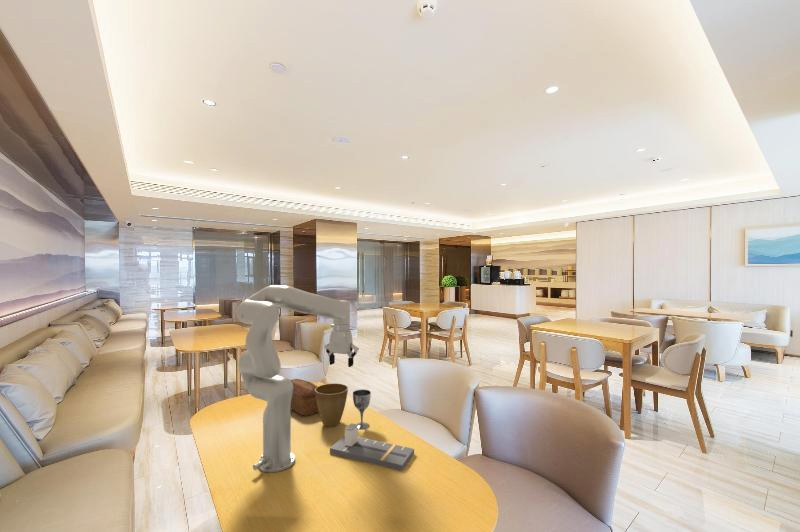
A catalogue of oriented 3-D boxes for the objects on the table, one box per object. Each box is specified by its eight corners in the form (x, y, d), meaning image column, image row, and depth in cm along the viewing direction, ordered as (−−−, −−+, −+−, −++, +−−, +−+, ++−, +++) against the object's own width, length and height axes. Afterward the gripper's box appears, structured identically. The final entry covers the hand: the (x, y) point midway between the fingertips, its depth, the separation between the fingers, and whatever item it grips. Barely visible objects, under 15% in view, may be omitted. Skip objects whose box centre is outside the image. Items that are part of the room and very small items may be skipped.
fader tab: (351, 446, 134) (351, 429, 134) (344, 445, 136) (344, 428, 136) (358, 440, 139) (357, 424, 139) (351, 439, 140) (351, 423, 140)
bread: (302, 419, 164) (302, 393, 164) (276, 403, 184) (276, 379, 184) (328, 411, 173) (328, 386, 173) (300, 396, 194) (300, 374, 194)
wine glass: (349, 427, 155) (349, 393, 155) (359, 420, 162) (359, 388, 162) (364, 431, 152) (364, 396, 152) (374, 424, 159) (374, 391, 159)
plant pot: (345, 431, 152) (344, 394, 152) (311, 430, 152) (310, 394, 152) (350, 416, 167) (350, 382, 167) (319, 416, 167) (319, 382, 167)
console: (402, 471, 122) (402, 464, 122) (329, 453, 134) (329, 447, 134) (414, 454, 133) (414, 448, 133) (346, 439, 145) (346, 433, 145)
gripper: (320, 327, 159) (320, 365, 159) (354, 330, 152) (353, 369, 152) (329, 325, 166) (329, 361, 166) (362, 327, 159) (362, 365, 159)
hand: (341, 365), depth 159 cm, fingers open, 9 cm apart
